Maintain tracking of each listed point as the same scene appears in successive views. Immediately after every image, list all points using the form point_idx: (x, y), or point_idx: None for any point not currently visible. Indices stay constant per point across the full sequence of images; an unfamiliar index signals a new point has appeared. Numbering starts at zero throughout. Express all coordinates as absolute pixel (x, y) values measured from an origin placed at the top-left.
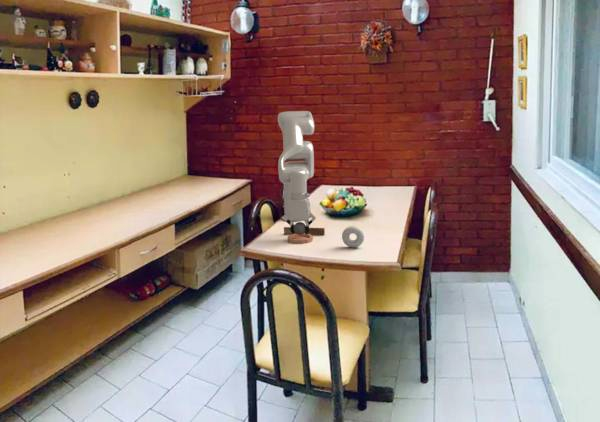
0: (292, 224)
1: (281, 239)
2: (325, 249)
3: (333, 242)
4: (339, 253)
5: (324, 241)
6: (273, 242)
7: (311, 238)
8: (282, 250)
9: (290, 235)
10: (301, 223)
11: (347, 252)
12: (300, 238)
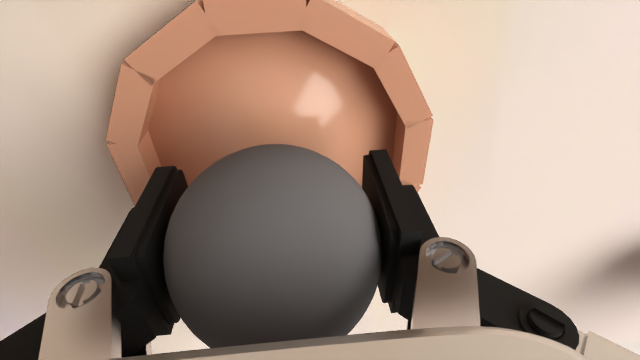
0: (146, 341)
1: (43, 142)
2: None
3: (623, 148)
4: (583, 330)
5: (542, 132)
6: (44, 242)
7: (418, 180)
8: None
9: (126, 137)
10: None
11: (636, 312)
12: (273, 126)
